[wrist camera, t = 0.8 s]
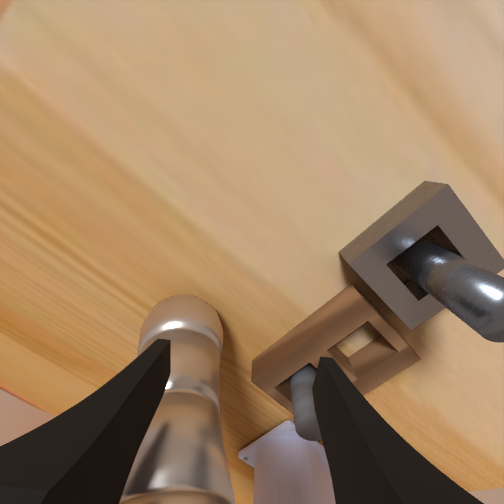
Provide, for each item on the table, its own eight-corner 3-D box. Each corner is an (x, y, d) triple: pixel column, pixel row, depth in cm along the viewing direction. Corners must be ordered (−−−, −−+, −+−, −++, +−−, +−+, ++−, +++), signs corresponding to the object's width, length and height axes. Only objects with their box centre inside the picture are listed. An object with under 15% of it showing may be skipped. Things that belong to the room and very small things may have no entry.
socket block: (480, 253, 21) (508, 265, 18) (395, 312, 23) (411, 330, 21) (424, 181, 19) (448, 184, 17) (338, 252, 21) (348, 264, 19)
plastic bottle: (211, 276, 22) (241, 954, 4) (228, 335, 25) (292, 867, 7) (134, 295, 21) (-234, 1161, 3) (162, 352, 24) (44, 968, 6)
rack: (405, 339, 24) (450, 395, 18) (306, 404, 27) (318, 470, 21) (351, 283, 22) (383, 326, 16) (252, 360, 25) (250, 419, 19)
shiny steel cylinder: (435, 253, 21) (554, 317, 12) (403, 276, 22) (495, 352, 13) (414, 227, 20) (525, 277, 12) (382, 252, 21) (464, 316, 13)
